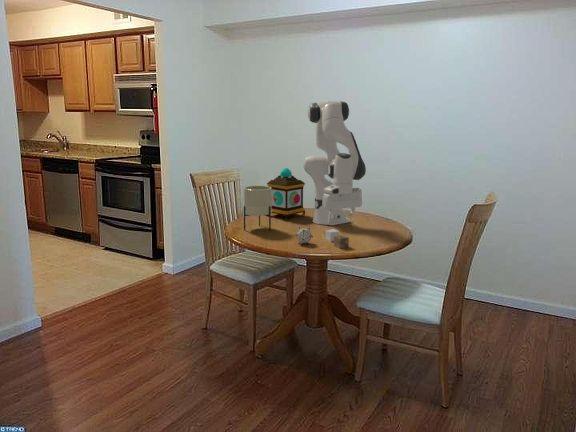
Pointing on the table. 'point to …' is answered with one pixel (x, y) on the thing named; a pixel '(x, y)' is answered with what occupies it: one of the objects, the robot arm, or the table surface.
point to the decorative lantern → (287, 194)
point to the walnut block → (341, 241)
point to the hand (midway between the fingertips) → (342, 217)
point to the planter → (258, 202)
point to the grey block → (331, 234)
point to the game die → (304, 235)
